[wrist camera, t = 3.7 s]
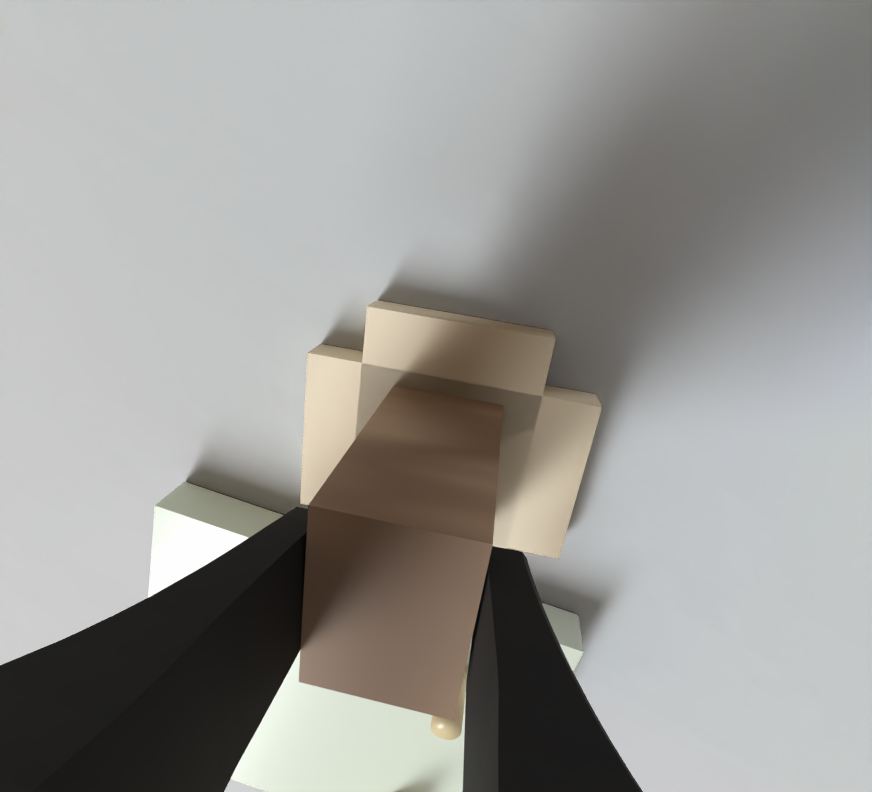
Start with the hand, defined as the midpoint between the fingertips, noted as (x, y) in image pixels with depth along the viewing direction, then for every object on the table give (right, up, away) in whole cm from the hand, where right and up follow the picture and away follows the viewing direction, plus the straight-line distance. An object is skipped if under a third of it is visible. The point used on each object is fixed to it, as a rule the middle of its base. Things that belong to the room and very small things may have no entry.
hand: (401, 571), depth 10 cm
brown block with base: (+1, +2, +6) cm, 6 cm away
